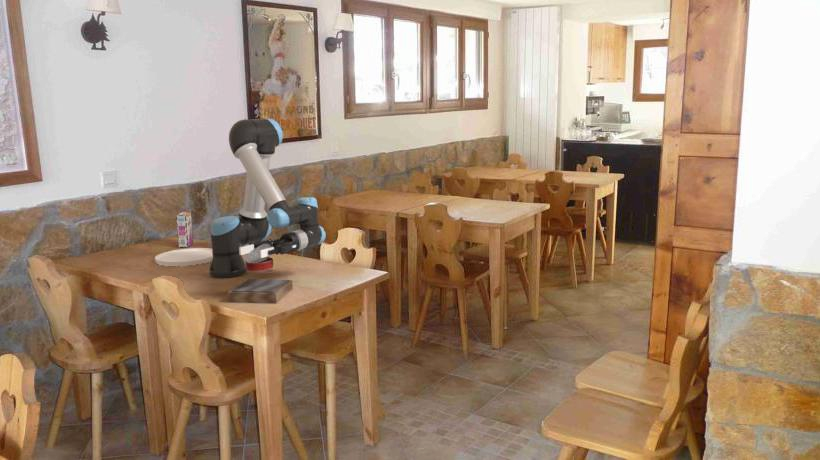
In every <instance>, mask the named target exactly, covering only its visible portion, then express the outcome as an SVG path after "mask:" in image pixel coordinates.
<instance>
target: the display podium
mask: <svg viewBox="0 0 820 460" xmlns="http://www.w3.org/2000/svg"><path fill="white" fill-rule="evenodd" d="M293 284H294V282H293V280H292V279H265V278H264V279H263V278H261V279H258V278H248V279H245V280H244V281H243V282H241V283H239V284H238V285H237V286H235V287H234V288H232V289H231V290H229V291H228V292H227V299H228V300H227V301H228V303H240V302H245V303H244V304H246V302H248V303H247V304H250V303H251V304H278V303H279V302H280V301H281V300H282V299H283V298H285V297H286V296H287V295H288V294H289V293H290V292H292V291H293V289H294V285H293ZM277 302H278V303H277Z"/></svg>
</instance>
